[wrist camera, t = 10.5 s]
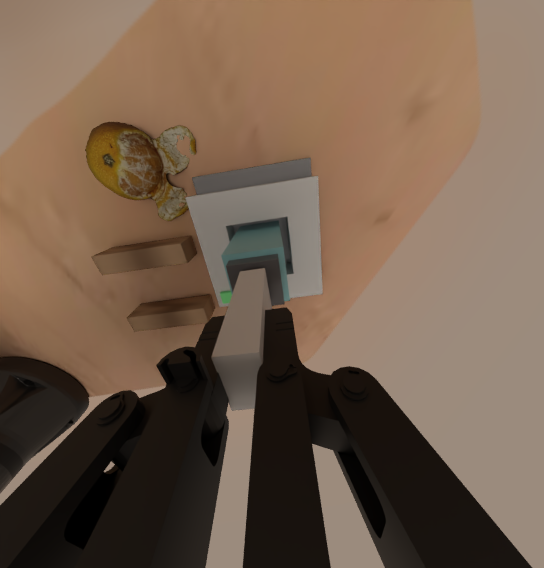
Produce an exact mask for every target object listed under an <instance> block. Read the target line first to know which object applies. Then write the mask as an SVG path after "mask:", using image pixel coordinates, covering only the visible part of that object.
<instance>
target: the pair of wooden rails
mask: <svg viewBox="0 0 544 568" xmlns="http://www.w3.org/2000/svg"><path fill="white" fill-rule="evenodd" d="M196 254H197V251H196V248H195V245H194V242H193V239H192V236H185V237H179V238H172V239H165V240H159V241H152V242H145V243H139V244H132V245H125V246H119V247H112V248H110V249H108V250H105V251H103V252H101V253H99V254H96V255H94V256H92V259H93V261H94V262H95V264H96V266H97V267H98V269H99V271H100V273H101V274H102V275H107V274H114V273H121V272H128V271H135V270H142V269H149V268H156V267H163V266H171V265H178V264H185V263H188V262H189V261H190V260H191V259H192V258H193V257H194V256H195V255H196ZM214 309H215V306H214V303H213V300H212V297H211V295H204V296H196V297H189V298H181V299H173V300H166V301H158V302H150V303H143V304H141V305H140V306H139V307H138V308H136V309H135V310H134V311H133V312H132V313H131V314H130V315H129V316H128V317H127V319H128V321H129V323H130V325H131V326H132V328H133V330H134V332H136V331H144V330H152V329H161V328H169V327H177V326H185V325H193V324H202V323H208V321H209V320H210V318H211V316H212V314H213V311H214Z"/></svg>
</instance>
